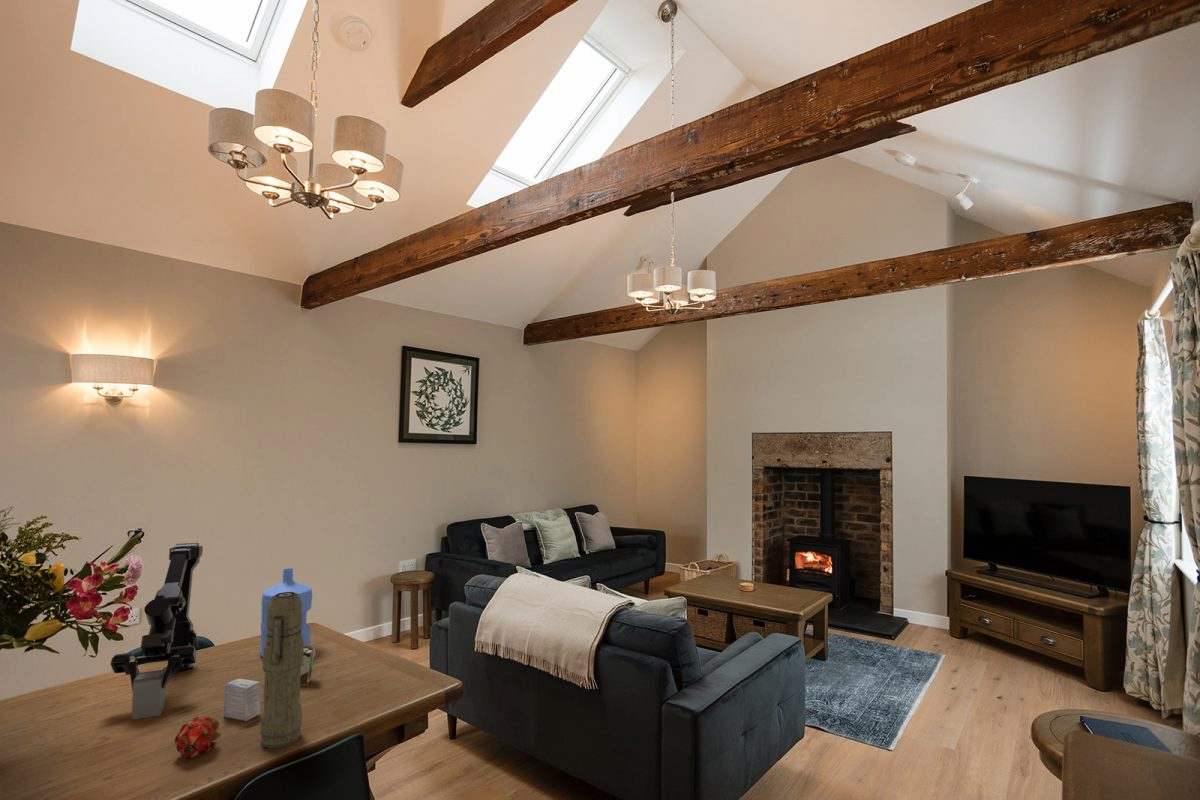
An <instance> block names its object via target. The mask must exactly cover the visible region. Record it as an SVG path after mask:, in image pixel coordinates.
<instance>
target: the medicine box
mask: <svg viewBox="0 0 1200 800" xmlns="http://www.w3.org/2000/svg"><path fill="white" fill-rule="evenodd" d="M223 696H224V697H223V701H224V703H223V717H224V718H229V719H233V720H238V721H244V722H247V721H250V720H251V719H254V718H255V717H257V716H260V713H261V681H257V680H251V679H245V678H237V679H233V680H232V681H229V682H227V683H225V684H224V695H223Z"/></svg>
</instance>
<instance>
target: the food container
mask: <svg viewBox="0 0 1200 800" xmlns="http://www.w3.org/2000/svg"><path fill="white" fill-rule="evenodd" d="M316 655H317V653H316V649H315V647H314V645H312V644H311V645H308V644H304V645H303V663H302V666H301V676H300V684H308V683H309V682H310V683H311V679H312V673H313V671H312V670H313V665H314V664H313V662H314V658H315V657H316ZM310 683H309V684H310ZM309 684H308V685H309Z"/></svg>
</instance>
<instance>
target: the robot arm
mask: <svg viewBox="0 0 1200 800" xmlns="http://www.w3.org/2000/svg"><path fill="white" fill-rule="evenodd" d="M203 548H204V547H203V545H200V543H199V542H190V543H189V542H186V543H185V542H184V543H176V544H175V546H174V547H173V546H172V547H170V548H169V550H168V551H169V553H168V560H169V564H168V568H167V572H166V576H165V580H164V584H163V586H162V587H161V588H160V589H159V590H156V594H155V596H154V598H153V599H151V601H148V602H147V604H146V605H145V606H144V611H143V612H144V614H145V617H146V620H147V623H148V625H149V626H150V628H149V630H148V634H146V635H145V634H144V635H142V636H141V643H140V649H141V654H142V655H143V656H133V654H132V652H126V653H125V652H123V653H116V654H114V655H113V656H112V657H111V661H110V667H111V669H112V671H113V673H114V674H123V673H124V674H125V675H128V676H129V677H130V683H131V691H132V692H133V680H134V679H135V678H136V677H137V675H138V674H139V673H140V670H139V665H145V664H152V663H153V664H154V663H160V662H161V663H163V662H167V666H164V667H162V670H164V669H166V672H165V675H164V678H163V681H162V688H164V687H165V686H166V687H167V684H168V683H169V682H170V680H171V679H172V678H173V676H174V675H175V674H176V673H178V672H182V671H187V670H190V669H194V668H195V666H194V664H195V663H197V661H196V660H197V650H196V649H197V648H198V636H197V633H196V630H195V629H194V623H193V622H192V620H191V619H190V617H189V615H190V604H191V596H192V595H191V594H192V586H193V585H192V583H193V572H194V570H195V569H196V567H197V566H198V565H199V563H200V560H201V557H202V556H203V551H204V549H203Z"/></svg>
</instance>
